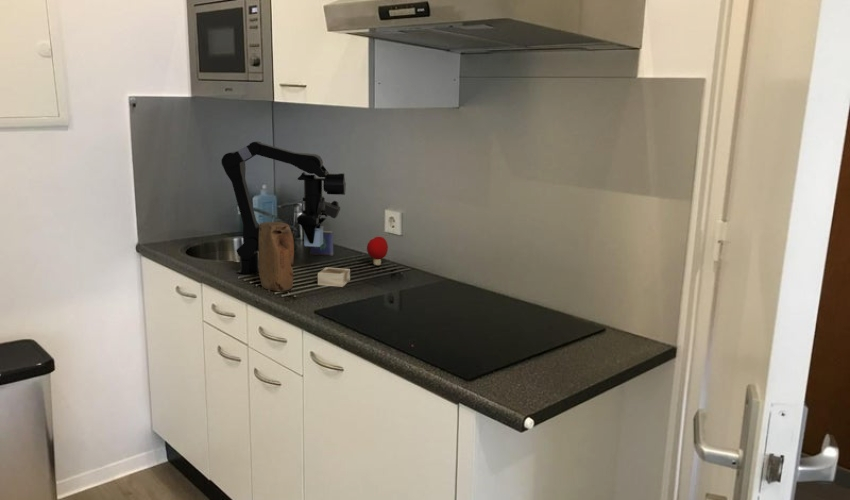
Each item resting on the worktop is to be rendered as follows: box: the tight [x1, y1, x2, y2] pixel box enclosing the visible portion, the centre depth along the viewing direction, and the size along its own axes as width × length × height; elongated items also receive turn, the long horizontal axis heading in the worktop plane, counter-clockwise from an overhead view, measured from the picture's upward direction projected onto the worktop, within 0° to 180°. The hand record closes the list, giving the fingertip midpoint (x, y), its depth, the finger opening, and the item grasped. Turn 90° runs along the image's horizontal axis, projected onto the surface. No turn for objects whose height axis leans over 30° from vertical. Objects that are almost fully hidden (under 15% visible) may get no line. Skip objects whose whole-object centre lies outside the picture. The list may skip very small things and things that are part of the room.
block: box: [257, 221, 295, 292], centre depth 203 cm, size 11×8×20 cm
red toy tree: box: [366, 236, 389, 267], centre depth 234 cm, size 9×7×10 cm
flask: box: [309, 225, 334, 257], centre depth 250 cm, size 9×3×11 cm, turn 72°
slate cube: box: [303, 228, 324, 247], centre depth 221 cm, size 5×5×5 cm
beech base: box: [317, 266, 351, 288], centre depth 212 cm, size 8×8×4 cm
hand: (313, 241), depth 221 cm, fingers closed on slate cube, 5 cm apart
